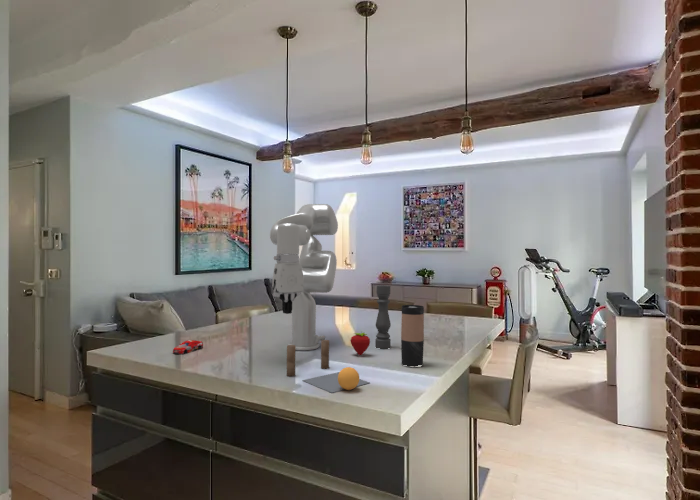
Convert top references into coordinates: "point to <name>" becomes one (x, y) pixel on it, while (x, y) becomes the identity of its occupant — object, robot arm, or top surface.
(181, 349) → the race car
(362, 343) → the strawberry
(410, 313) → the travel mug
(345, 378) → the ball
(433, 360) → the top surface
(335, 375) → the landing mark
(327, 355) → the post
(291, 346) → the post
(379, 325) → the candle holder
